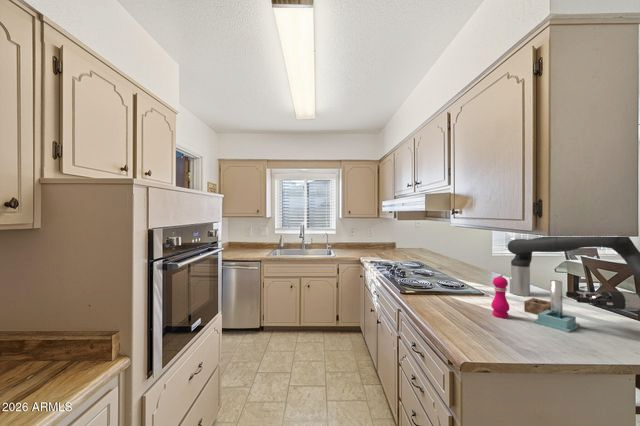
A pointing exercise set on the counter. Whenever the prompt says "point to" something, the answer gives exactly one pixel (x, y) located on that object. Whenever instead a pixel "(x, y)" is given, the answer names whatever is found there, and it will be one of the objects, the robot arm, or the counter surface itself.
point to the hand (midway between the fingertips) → (571, 296)
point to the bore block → (536, 306)
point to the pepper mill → (500, 297)
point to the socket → (557, 321)
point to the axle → (556, 298)
